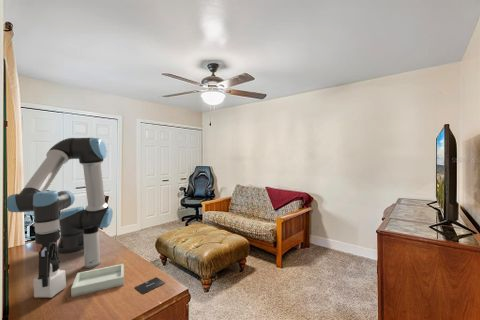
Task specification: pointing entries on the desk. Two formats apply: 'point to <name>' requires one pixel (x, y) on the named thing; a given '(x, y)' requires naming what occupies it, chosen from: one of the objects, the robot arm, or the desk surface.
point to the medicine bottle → (56, 281)
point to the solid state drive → (149, 285)
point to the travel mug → (91, 246)
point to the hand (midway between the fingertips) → (50, 286)
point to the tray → (98, 280)
